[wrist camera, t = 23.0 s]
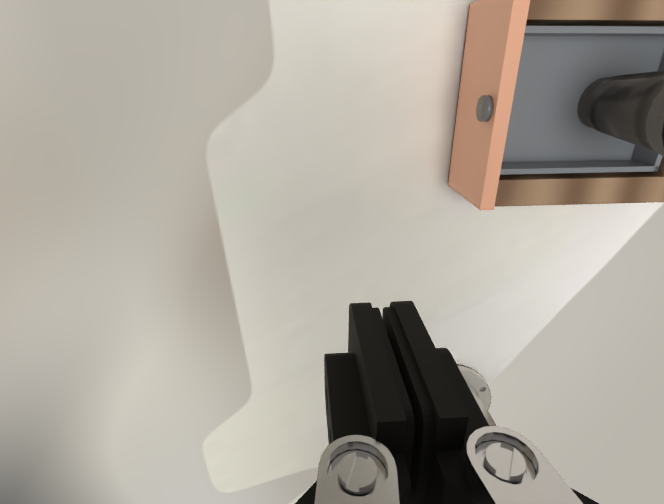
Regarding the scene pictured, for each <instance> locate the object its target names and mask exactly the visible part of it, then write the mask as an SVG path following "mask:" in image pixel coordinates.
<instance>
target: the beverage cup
mask: <svg viewBox="0 0 664 504" xmlns="http://www.w3.org/2000/svg"><path fill="white" fill-rule="evenodd" d="M577 112H578V117H579V119H580V121H581V122H582V123H583V124H584V125H586V126H587V127H591V128H593V129H595V130H597V131H599V132H601V133H604V134H607V135H610V136H613V137H615V138H618V139H621V140H624V141H627V142H630V143H632V144H635V145H638V146H641V147H644V148H646V149H649V150H652V151H655V152H657V153H659V154H660V155H662V156H664V71H656V72H646V73H636V74H626V75H618V76H613V77H605V78H600V79H598V80H596V81H594V82H592V83H591V84H590V85H589V86H588V87H587V88H586V89H585V90H584V92H583V93H582V95H581V97H580V99H579V102H578V109H577Z"/></svg>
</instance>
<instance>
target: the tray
mask: <svg viewBox="0 0 664 504" xmlns="http://www.w3.org/2000/svg"><path fill="white" fill-rule="evenodd" d="M529 5H530V0H478V1H476V2H473V3H470V9H469V17H468V25H467V34H466V42H465V50H464V58H463V67H462V75H461V83H460V91H459V100H458V108H457V116H456V124H455V133H454V141H453V149H452V157H451V166H450V174H449V182H448V185H449V186H450V187H451V188H452V189H454V190H455V191H456V192H458V193H459V194H460V195H461V196H463V197H464V198H465V199H466V200H468V201H469V202H470V203H472V204H473V205H474V206H475V207H477V208H478V209H479V210H494V206H495V200H496V194H497V189H498V183H499V177H500V175H507V174H555V173H604V172H652V171H658V169H659V166H660V163H661V160H662V157H663V156H662V155H660V154H659V153H657V152H655V151H652V150H649V149H646V148H644V147H641V146H638V145H635V144H632V143H630V142H627V141H624V140H621V139H618V138H615V137H613V136H610V135H607V134H604V133H601V132H599V131H597V130H595V129H593V128H591V127H587V126H586V125H584V124H583V123H582V122H581V121H580V119H579V117H578V112H577V109H578V102H579V99H580V97H581V95H582V93H583V92H584V90H585V89H586V88H587V87H588V86H589V85H590V84H591V83H592V82H594V81H596V80H598V79H600V78H605V77H613V76H618V75H626V74H636V73H646V72H656V71H664V27H647V26H526V22H527V16H528V10H529Z"/></svg>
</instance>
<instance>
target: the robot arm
mask: <svg viewBox="0 0 664 504" xmlns="http://www.w3.org/2000/svg"><path fill="white" fill-rule="evenodd" d="M324 366H325V400H326V414H327V426H328V439H329V445H328V446H327V448H326V449H325V451H324V452H323V453H322V456H321V459H320V463H319V468H318V477H317V481H316V482H315V483H314V484H313V485H312V486H311V487H310V488H309V489H308V491H307V492H306V493H305V494H304V495H303V496H302V497H301V498H300V499H299V500H298V501H297V502H296V503H295V504H599V503H597V502H595V501H593V500H591V499H589V498H588V497H586V496H584V495H583V494H581V493H579V492H577V491H575V490H573V489H572V488H570V487H569V486H568V484H567V483H566V482H565V481H564V479H563V478H562V477H561V476H560V474H558V472H557V471H556V470H555V468H554V467H553V466H552V465H551V463H550V462H549V461H548V460H547V458H546V457H545V456H544V455H543V454H542V452H541V451H540V450H539V449H538V448H537V447H536V446H535V445H534V444H533V443H532V442H531V441H530V440H529V439H527V438H526V437H524V436H523V435H521V434H520V433H518V432H515V431H513V430H510V429H508V428H504V427H498V426H496V424H495V422H494V421H493V419H492V417H491V415H490V413H489V412H488V409H489V407H490V404H491V395H490V394H491V393H490V390H489V387H488V385H487V383H486V382H485V380H484V379H483V377H482V376H481V375H479V374H478V373H477V372H475V371H474V370H472V369H470V368H467V367H464V366H458V365H457V364H456V362H455V360H454V359H453V357H452V355H451V353H450V352H449V350H448V349H446V348H435V346H434V344H433V342H432V340H431V338H430V336H429V334H428V332H427V330H426V328H425V326H424V324H423V322H422V320H421V318H420V316H419V314H418V312H417V309H416V307H415V305H414V303H413V302H412V301H398V302H391V303H390V307H384V309H383V318H382V316H381V313H380V310H379V308H372V306H371V303H351V304H350V306H349V344H348V353H335V354H325V357H324Z"/></svg>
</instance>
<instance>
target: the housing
mask: <svg viewBox="0 0 664 504" xmlns="http://www.w3.org/2000/svg"><path fill="white" fill-rule="evenodd" d="M526 26H664V0H530V5H529V10H528V16H527V22H526ZM646 202H664V156H663V157H662V160H661V163H660V166H659V169H658V171H652V172H604V173H555V174H507V175H500V177H499V183H498V189H497V194H496V200H495V206H532V205H570V204H608V203H646Z"/></svg>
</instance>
